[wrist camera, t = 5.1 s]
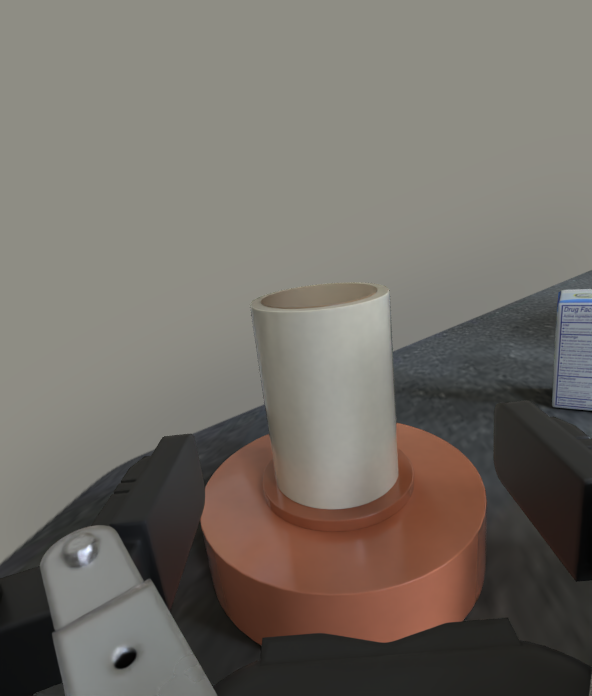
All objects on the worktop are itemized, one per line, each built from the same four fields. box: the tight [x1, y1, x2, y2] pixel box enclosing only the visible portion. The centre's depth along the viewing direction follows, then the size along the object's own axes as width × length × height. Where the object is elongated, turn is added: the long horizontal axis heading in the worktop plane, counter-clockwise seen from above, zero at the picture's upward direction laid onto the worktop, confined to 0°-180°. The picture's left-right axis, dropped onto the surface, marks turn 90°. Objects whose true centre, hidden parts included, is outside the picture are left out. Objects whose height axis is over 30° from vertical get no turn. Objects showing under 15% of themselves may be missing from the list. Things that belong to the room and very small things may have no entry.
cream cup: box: [250, 282, 399, 509], centre depth 21 cm, size 6×6×9 cm
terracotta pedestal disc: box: [200, 423, 487, 646], centre depth 23 cm, size 14×14×4 cm
